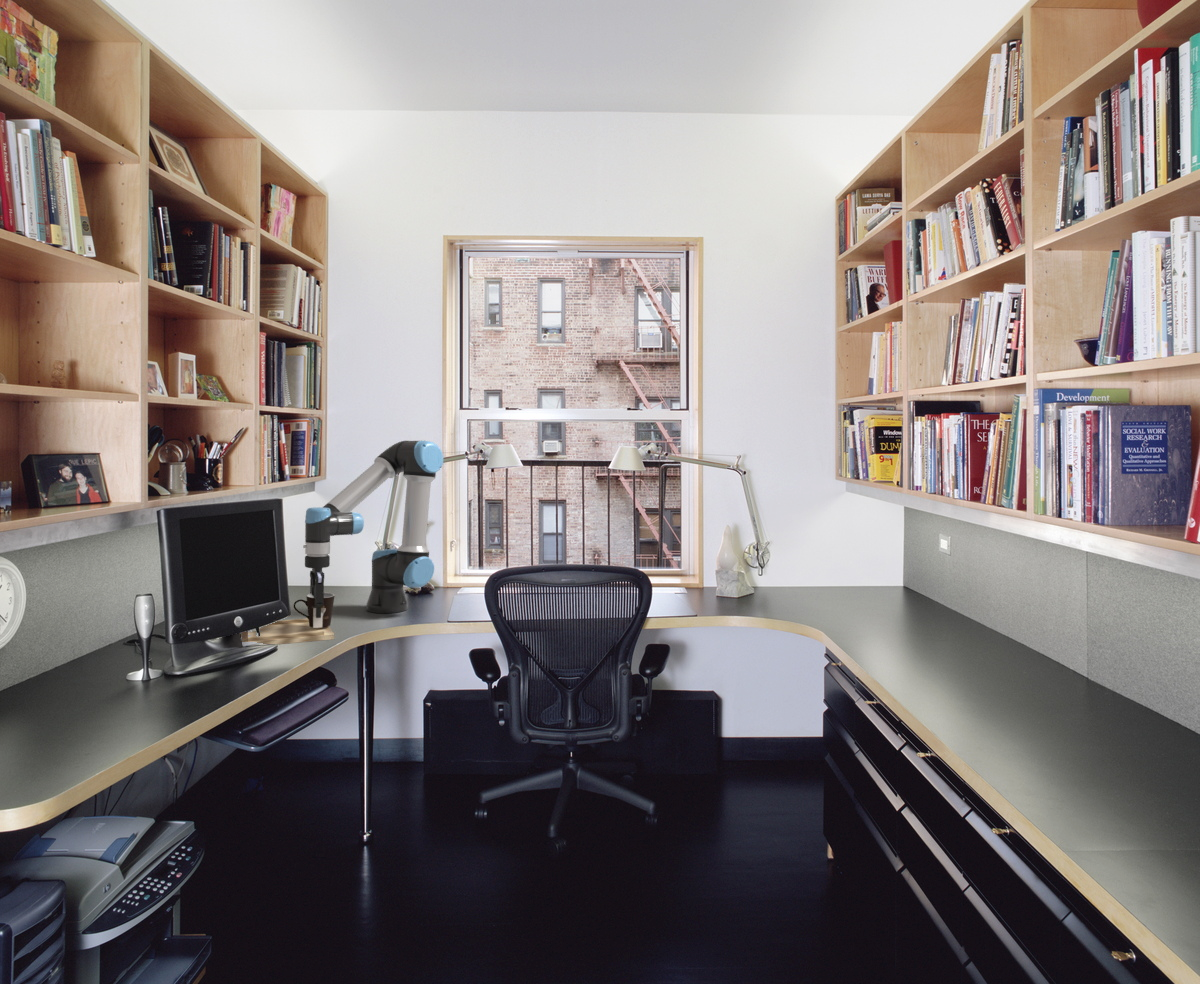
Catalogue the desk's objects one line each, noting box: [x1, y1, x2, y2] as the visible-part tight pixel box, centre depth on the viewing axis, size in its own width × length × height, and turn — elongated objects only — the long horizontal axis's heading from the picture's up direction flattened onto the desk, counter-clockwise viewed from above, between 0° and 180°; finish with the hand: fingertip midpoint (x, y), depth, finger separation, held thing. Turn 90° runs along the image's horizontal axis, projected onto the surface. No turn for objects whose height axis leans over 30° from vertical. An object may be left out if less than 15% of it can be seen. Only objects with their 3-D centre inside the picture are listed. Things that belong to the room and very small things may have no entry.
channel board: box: [241, 618, 335, 645], centre depth 225 cm, size 26×22×6 cm
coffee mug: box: [293, 591, 335, 628], centre depth 230 cm, size 12×9×10 cm
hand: (316, 624), depth 229 cm, fingers closed on coffee mug, 6 cm apart
